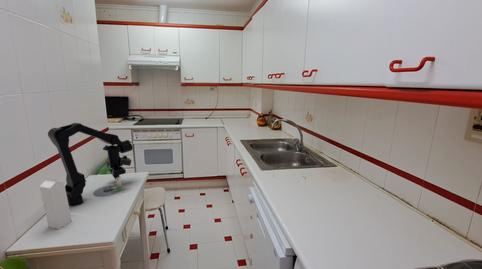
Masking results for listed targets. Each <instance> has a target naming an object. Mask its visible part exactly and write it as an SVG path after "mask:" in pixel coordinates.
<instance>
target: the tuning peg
mask: <svg viewBox="0 0 482 269" xmlns="http://www.w3.org/2000/svg"><path fill="white" fill-rule="evenodd" d="M115 185H117V186H116V187H113V188H112V187H111V186H110V185H105V186H106V187H105V186H103V187H104V188H103V190H104V192H109V191H111V190H112V189H114V188H118V187H122V185H123V184H122V177H121V176H119V177H116V180H115Z"/></svg>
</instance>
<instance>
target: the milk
mask: <svg viewBox="0 0 482 269" xmlns="http://www.w3.org/2000/svg"><path fill="white" fill-rule="evenodd" d="M65 186H66V184H65V182H64V181H58V180H57V178H56V177H53V176H45V179H44V181H43V182H42V184H40V185H39V192H40V195H41V196H40V197H41V200H42V203H43V209H44V212H45V213H44V214H45V217H46V222H47V226H48V228H53V229H57V230H60V229H61V228H63V227H65V226H66V225H69V223H72V215H71V211H70V210H71V209H70V206H69V205H68V200H67V194H66V189H65Z"/></svg>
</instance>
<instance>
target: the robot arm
mask: <svg viewBox="0 0 482 269" xmlns="http://www.w3.org/2000/svg"><path fill="white" fill-rule="evenodd" d="M78 133H81V134H84V135H86V136H90V137H93V138H96V139H98V140H100V141H101V142H103V143H105V145H104V146H103V148H102V150H104V151H106V152H107V160H108V161H106V164H105V165H106V167H107V168H110V169H108V171H109V172H110V174H111V175H112V177H113V178H114V180H115V181H116V177H120V176H122V175H124V174H126V173H127V171H126V169H125V168H124V167H123V166H129V167H130V166H131V164H132V159H131V158H129V157H128V156H127V155H122V156H120V153H121V154H125V153H128V152H132V151H133V145H132V144H133V143H131V142H130V139H126V140H123V141H122V140H120V138H119V136H118V135H117V134H113V133H110V132H109V133H108V132H104V131H103V132H102V131H100V130H97V129H95V128H92V127H89V126H88V125H87V126H86V125H83V124H82V123H79V122H73V123H71V124H68V125H63V126H60V127H52V128H51V129H49V131H48V132H47V135H48V136H47V137H48V138H49V139H50V141H51V142H52V144H53V145H54V146H55V147H56V149H57V151H58V155H59V156H60V159H61V162H62V165H63V167H64V171H65V173H66V177H65V182H66V184H65V189H66V194H67V200H68V205H69V207H74V206H80V205H82V204H83V203H84V199H83V195H82V194H83V193H84V188H85V187H86V184H87V183H86V182H87V180H86V178H85V174H83V173H81V172H79V171H78V168H77V165H76V163H75V161H74V160H75V159H74V158H73V154H72V152H71V151H72V150H71V149H70V146H69V145H70V137H72V136H74V135H75V134H78Z"/></svg>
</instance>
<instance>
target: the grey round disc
mask: <svg viewBox="0 0 482 269" xmlns="http://www.w3.org/2000/svg"><path fill="white" fill-rule="evenodd" d="M106 186H107V185H105V186H102V187H99V188H97V189H95V190H94V192H93V193H92V195H93V196H94V197H97V198H99V197H100V198H104V197H110V196H113V195H116V194H118V193H119V192H120V191H122V188H123V187H122V186H121V187H118V188H114V189H112V190H111V191H109V192H104V190H103V188H104V187H106ZM109 186H111V187H112V188H113V187H116V186H117V185H116V184H112V185H109Z"/></svg>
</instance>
